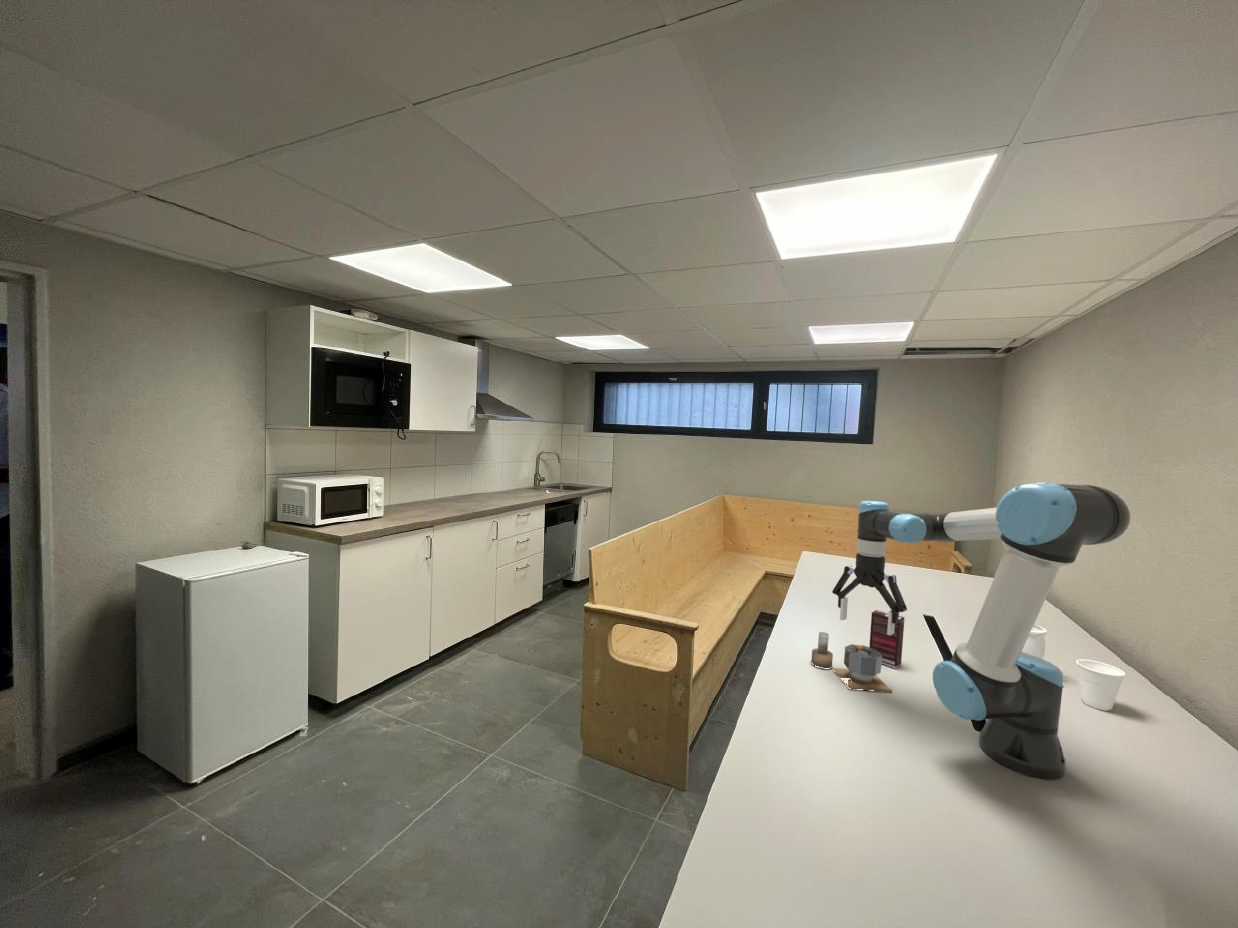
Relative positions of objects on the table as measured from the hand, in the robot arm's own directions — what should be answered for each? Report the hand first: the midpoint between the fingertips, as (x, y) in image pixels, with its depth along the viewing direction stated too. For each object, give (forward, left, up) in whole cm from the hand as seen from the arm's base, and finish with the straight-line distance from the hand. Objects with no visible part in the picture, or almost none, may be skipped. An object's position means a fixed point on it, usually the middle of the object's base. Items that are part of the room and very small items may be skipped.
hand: (866, 626), depth 141 cm
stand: (+9, +8, -17) cm, 21 cm away
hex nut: (0, 0, -13) cm, 13 cm away
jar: (+14, -57, -17) cm, 61 cm away
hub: (0, 0, -17) cm, 17 cm away
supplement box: (+14, -14, -17) cm, 26 cm away
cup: (-5, -63, -17) cm, 65 cm away
